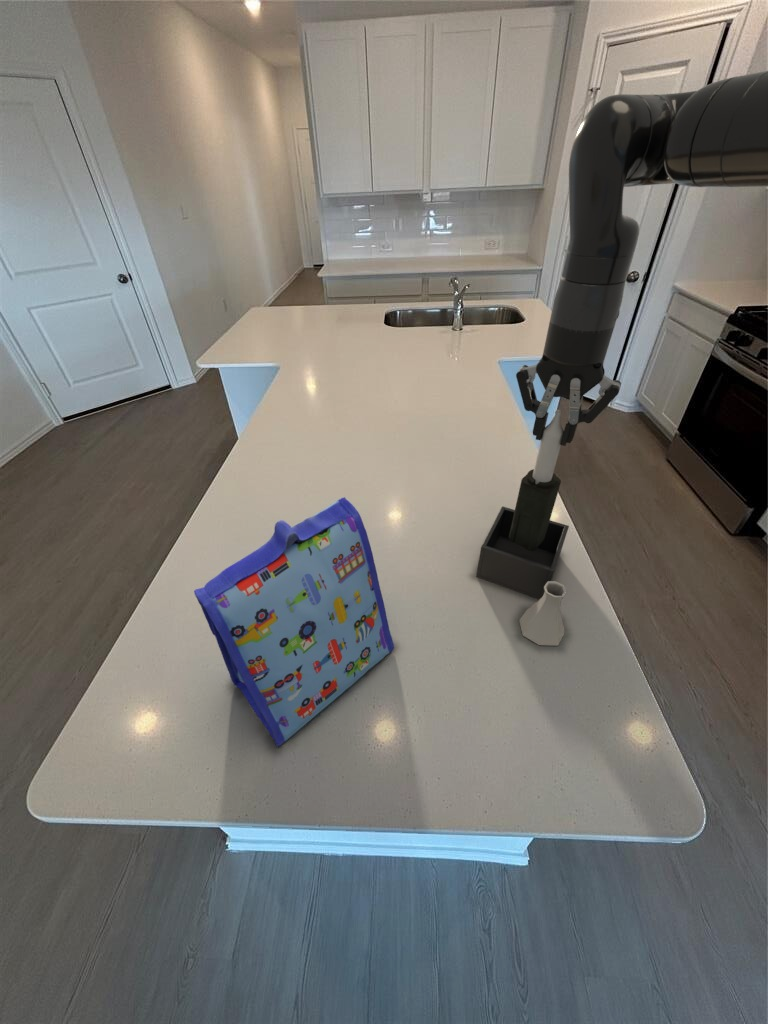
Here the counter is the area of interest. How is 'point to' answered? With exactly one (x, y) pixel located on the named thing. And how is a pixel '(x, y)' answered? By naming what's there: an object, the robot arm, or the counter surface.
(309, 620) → the lunch bag
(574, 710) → the counter surface
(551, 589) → the flask
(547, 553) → the bin
